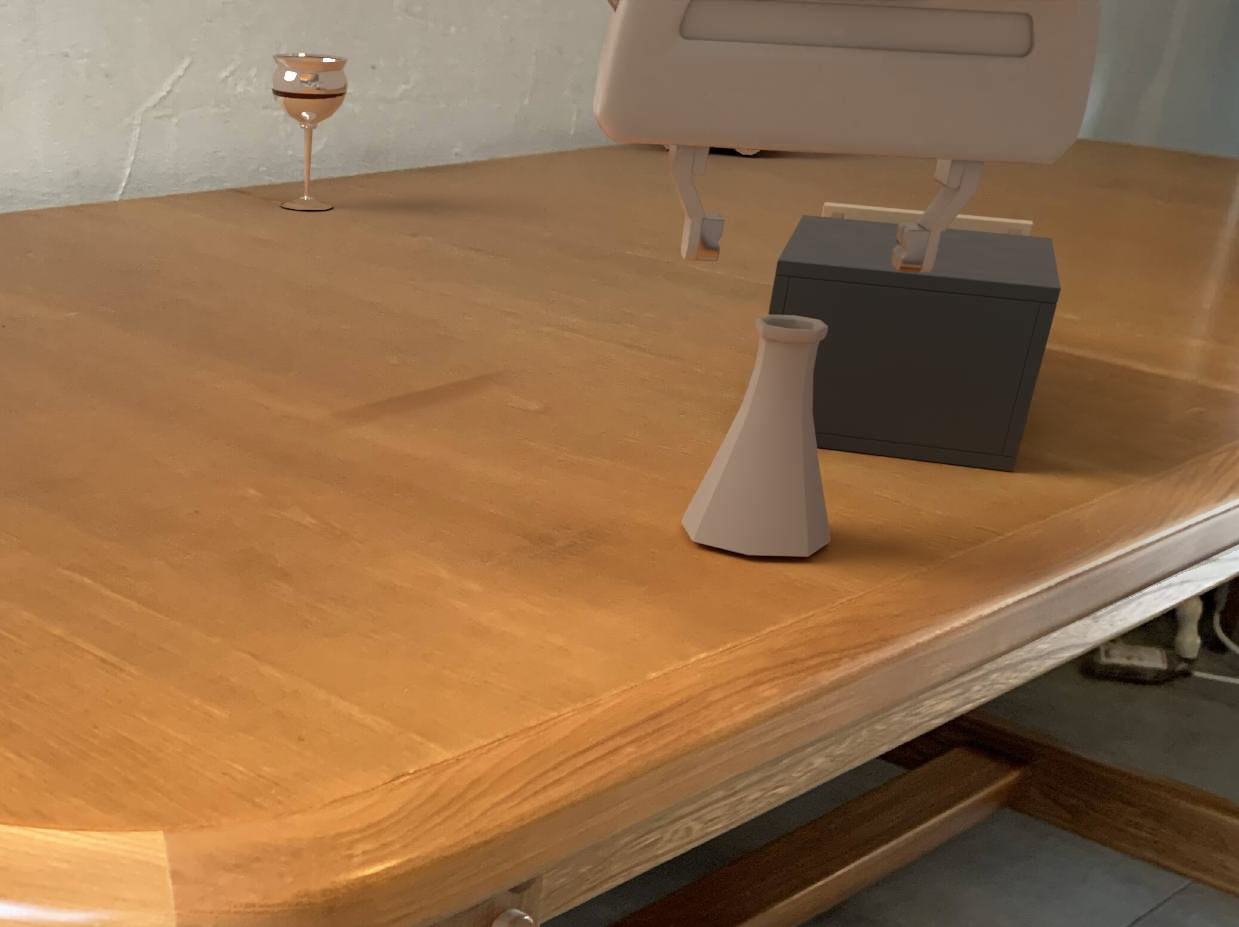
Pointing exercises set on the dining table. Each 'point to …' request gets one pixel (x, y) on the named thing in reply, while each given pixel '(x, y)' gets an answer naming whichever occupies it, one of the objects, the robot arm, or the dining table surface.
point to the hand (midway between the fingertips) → (804, 264)
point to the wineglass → (309, 93)
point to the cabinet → (921, 338)
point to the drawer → (914, 215)
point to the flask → (769, 455)
